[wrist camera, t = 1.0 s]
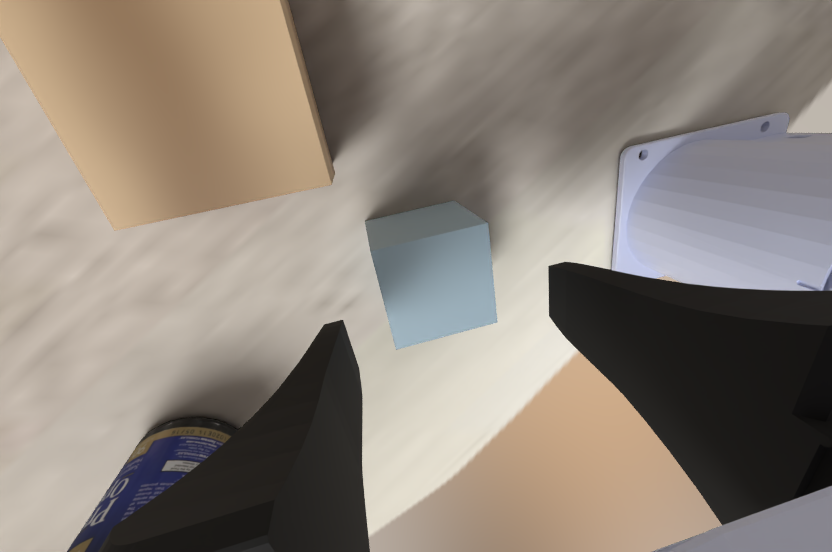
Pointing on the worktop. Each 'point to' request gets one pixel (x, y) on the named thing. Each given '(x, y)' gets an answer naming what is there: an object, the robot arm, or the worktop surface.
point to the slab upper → (173, 100)
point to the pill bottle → (152, 473)
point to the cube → (433, 272)
